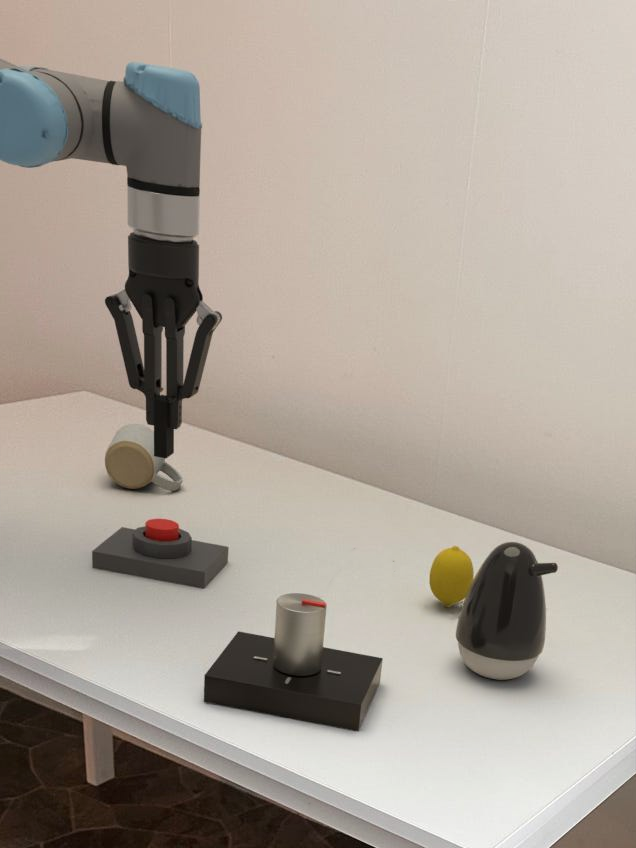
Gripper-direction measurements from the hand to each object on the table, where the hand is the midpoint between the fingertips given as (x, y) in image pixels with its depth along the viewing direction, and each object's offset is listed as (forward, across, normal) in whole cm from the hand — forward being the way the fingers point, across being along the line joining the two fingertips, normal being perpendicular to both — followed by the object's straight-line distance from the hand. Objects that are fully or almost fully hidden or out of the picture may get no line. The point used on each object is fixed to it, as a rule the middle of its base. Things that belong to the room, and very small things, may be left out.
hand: (163, 454), depth 141 cm
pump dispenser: (+14, -44, +13) cm, 48 cm away
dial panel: (+14, -24, +28) cm, 39 cm away
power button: (+10, 0, 0) cm, 10 cm away
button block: (+14, 0, 0) cm, 14 cm away
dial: (+11, -24, +28) cm, 38 cm away
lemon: (+14, -36, -4) cm, 39 cm away
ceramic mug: (+14, +13, -30) cm, 36 cm away
